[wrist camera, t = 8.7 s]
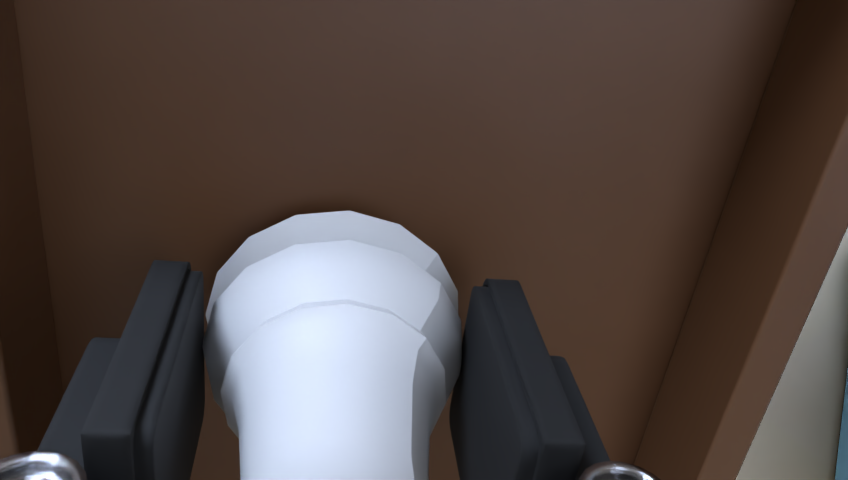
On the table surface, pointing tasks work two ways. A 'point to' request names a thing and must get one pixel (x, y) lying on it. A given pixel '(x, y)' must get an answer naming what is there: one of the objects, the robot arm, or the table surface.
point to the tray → (442, 183)
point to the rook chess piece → (333, 349)
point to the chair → (843, 441)
